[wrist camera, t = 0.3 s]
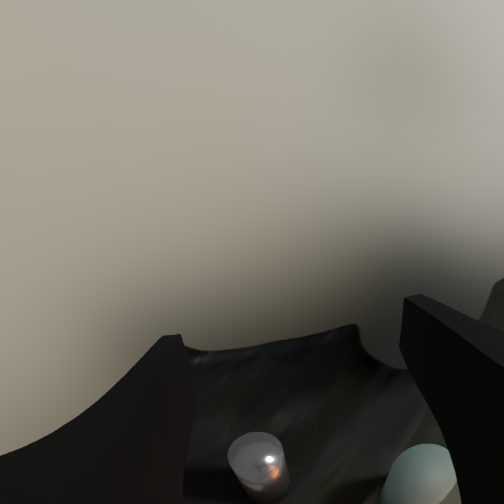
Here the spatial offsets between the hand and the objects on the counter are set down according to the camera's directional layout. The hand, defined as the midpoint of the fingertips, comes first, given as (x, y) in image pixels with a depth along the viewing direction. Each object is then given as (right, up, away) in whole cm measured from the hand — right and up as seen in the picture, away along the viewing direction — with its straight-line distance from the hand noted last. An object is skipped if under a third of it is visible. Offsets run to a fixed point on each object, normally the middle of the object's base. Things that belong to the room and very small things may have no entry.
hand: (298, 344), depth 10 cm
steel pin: (0, -18, +13) cm, 22 cm away
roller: (+12, -17, +8) cm, 23 cm away
